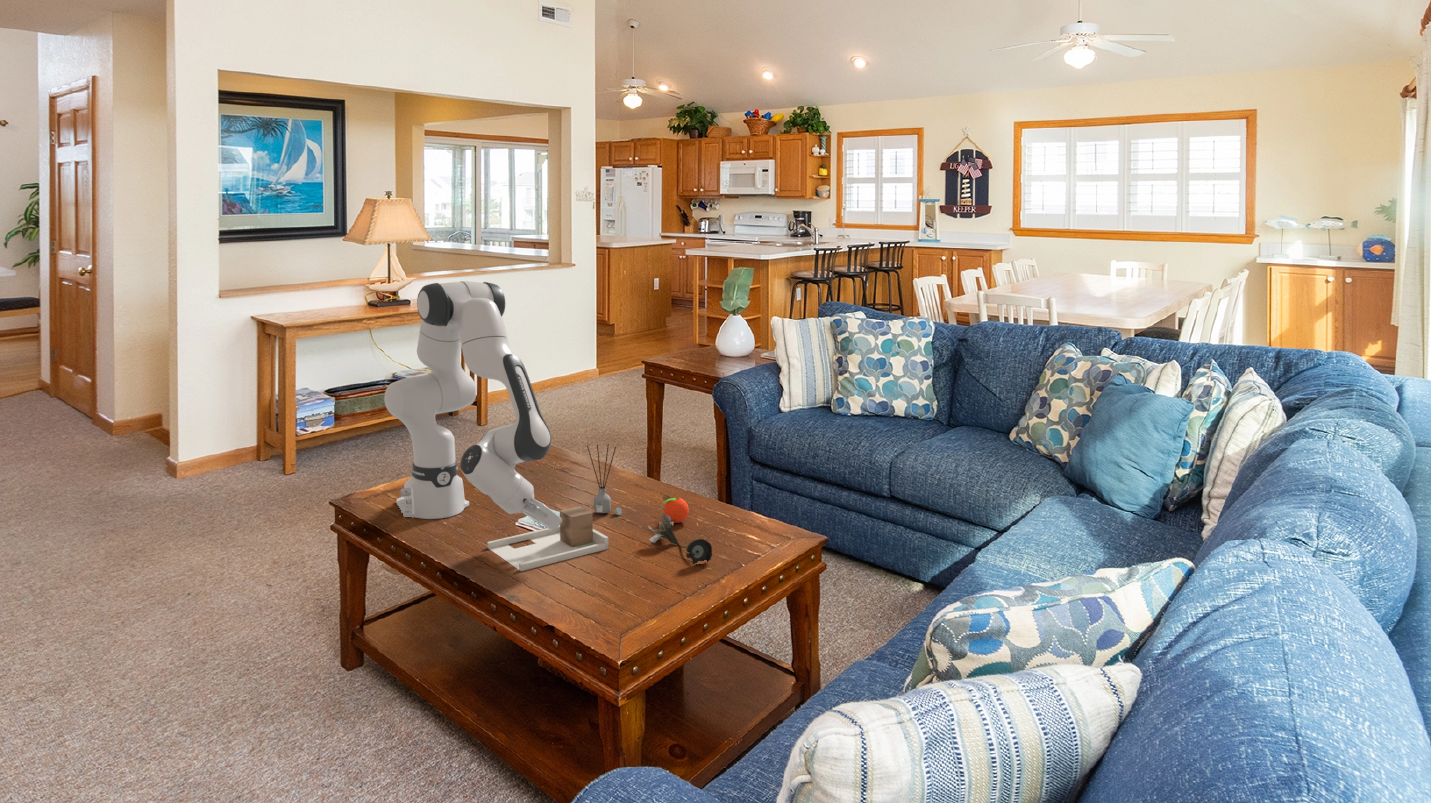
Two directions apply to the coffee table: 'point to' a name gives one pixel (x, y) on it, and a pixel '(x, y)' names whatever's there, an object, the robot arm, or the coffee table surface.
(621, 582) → the coffee table surface
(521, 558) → the white rimmed tray
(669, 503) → the clementine
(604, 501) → the reed diffuser
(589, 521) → the walnut block
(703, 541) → the artificial flower
